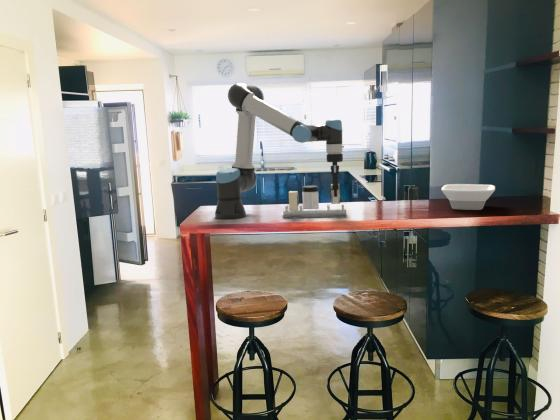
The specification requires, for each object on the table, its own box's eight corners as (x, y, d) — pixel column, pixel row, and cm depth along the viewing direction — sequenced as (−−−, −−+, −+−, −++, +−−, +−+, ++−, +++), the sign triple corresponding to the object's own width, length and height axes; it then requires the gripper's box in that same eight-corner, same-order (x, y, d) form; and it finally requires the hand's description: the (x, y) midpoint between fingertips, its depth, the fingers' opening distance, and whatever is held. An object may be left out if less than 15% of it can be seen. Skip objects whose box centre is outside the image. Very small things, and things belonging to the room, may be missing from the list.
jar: (308, 211, 236) (307, 187, 234) (299, 209, 243) (298, 186, 241) (322, 208, 241) (321, 186, 239) (312, 207, 247) (312, 185, 245)
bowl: (494, 204, 234) (495, 184, 233) (494, 212, 212) (495, 190, 210) (444, 203, 245) (444, 183, 243) (439, 210, 222) (439, 189, 220)
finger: (330, 203, 217) (330, 185, 216) (330, 202, 221) (330, 184, 220) (339, 203, 217) (339, 184, 215) (339, 202, 221) (339, 183, 219)
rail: (282, 218, 219) (281, 193, 217) (284, 214, 227) (283, 190, 225) (346, 217, 215) (346, 191, 213) (346, 213, 224) (345, 189, 222)
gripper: (342, 153, 206) (344, 205, 210) (342, 152, 223) (343, 199, 227) (326, 154, 207) (327, 205, 211) (326, 152, 224) (328, 200, 228)
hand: (335, 202), depth 219 cm, fingers closed on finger, 4 cm apart
